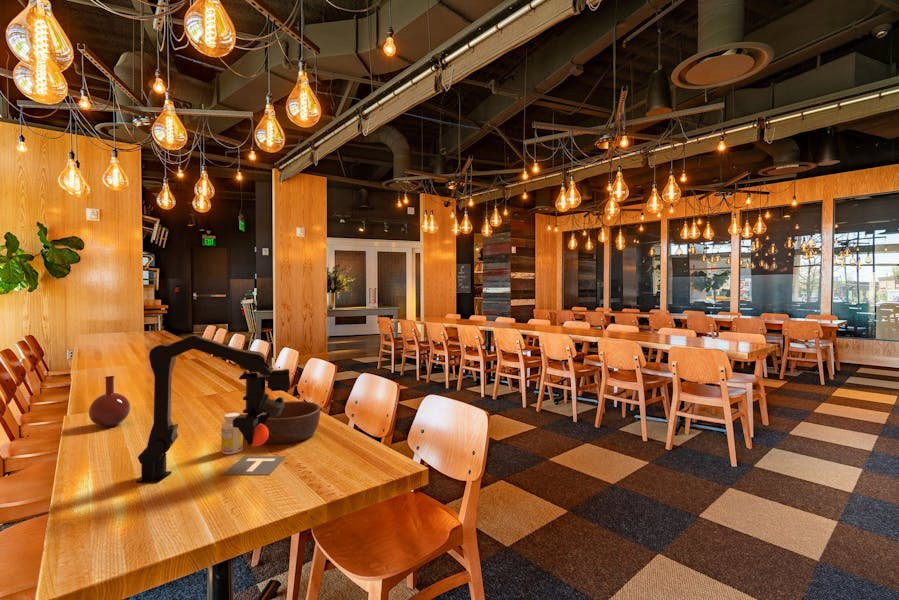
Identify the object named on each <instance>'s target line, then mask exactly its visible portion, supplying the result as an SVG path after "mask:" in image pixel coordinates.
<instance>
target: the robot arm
mask: <svg viewBox="0 0 899 600" xmlns="http://www.w3.org/2000/svg"><path fill="white" fill-rule="evenodd" d="M190 350H196V351H199V352H201V353H202V352H203V353H205V354H209V355H212V356H215V357H218V358H220V359H223V360H226V361H227V360H228V361H230V362H233V363H235V364H236V365H238V366H240V368H242V369H244V371H243V373H241V375H239V377H238V380H245V396H243V397H242V401H245V408H244V409H243V410H242V414H241V413H240V415H239V416H237V417H236V418H235V419H234V420H233V421H232V427H237V428H239V430H240V431H241V433H242V435H243V439H244V440H245V442H246V444H247V445H248V446H252V443H253V438H254V431H255V428H256V427H257V426H258V425H259V423H260V424H263V425H265V424H266V421H267V419H268V418H269V417H270V416H271V415H272V416H274V417H278V415H280V414H281V412H282V410H283V408H284V407H285V405H284V404H285V403H284V402H285V401H284V397H280V396H278V397H277V398H276V399H275V398H273V399H271V398H269V394H268V393H266V379H267V389H269V390H270V391H271V392H281V391H291V377H290V369H289V368H283V369H272V366H270V365H269V364H268V362H267V357H266V355H265V354H264V353H263V352H261V351H255V350H252V349H251V350H250V349H240V348H236V347H232V346H230V345H227V344H224V343H221V342H218V341H215V340H212V339H209V338H205V337H203V336H200V335H199V334H192V335H190V336H188V337H185V338H183V339H180V340H178V341H174V342H172V343H170V342H163V343H161V344H158V345H156V346H154V347H152V348H151V349H150V351H149V354H148V359H149V363H150V368H151V370H152V373H153V375H154V380H153V381H154V387H153V388H154V390H153V391H154V393H153V395H154V396H153V424H152V428H151V431H150V433H149V435H148V440H147V444H146V445H147V446H146V447H145V448H144V449H143V450H142V452H141V453H140V454H139V455H138V456H137V459H138V462H139V464H140V465H141V468H140V471H141V473H140V474H141V475H140V476H141V477H139V478H138V479H136V480H135V483H159V482H161V481H162V480H164V479H165V478H166V477H168V476H170V475H171V474H172V471H171V470H170V471H169V470H168V471H167V452H168V451H169V450H170V449H171V447H172V446H173V444H175V441H177V439H178V437H179V434H178V427H179V423H175V424H173V421H172V418H171V415H172V413H171V412H172V373H173V370H174V369H175V364H176V360H177V356H179V355H182V354H183V353H186V352H188V351H190Z"/></svg>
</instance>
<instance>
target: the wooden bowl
mask: <svg viewBox="0 0 899 600" xmlns="http://www.w3.org/2000/svg"><path fill="white" fill-rule="evenodd" d="M284 403H285V404H284V405H285V407H284V408H283V410H282V412H281V414H280V415H278V417H274V416H272V415H271V416H270V417H269V418H268V419H267V421H266V424H265V426H266V427H267V428H268V431H269V436H268V439H267V440H266V442H265V443H264V444H268V445H269V444H270V445H287V444H293V443H295V444H296V443H299V442H301V441H304V440H307V439H309V438H311V437H312V436H313V435H314V434H315V432H316V431H317V429H318V425H319V423H320V417H321V412H322V411H321V410H322V409H321V406H320V405H319V404H318V403H315V402H311V401H310V402H309V401H305V400H303V401H302V400H300V401H299V400H293V401H291V400H289V401H284ZM310 436H311V437H310Z"/></svg>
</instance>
